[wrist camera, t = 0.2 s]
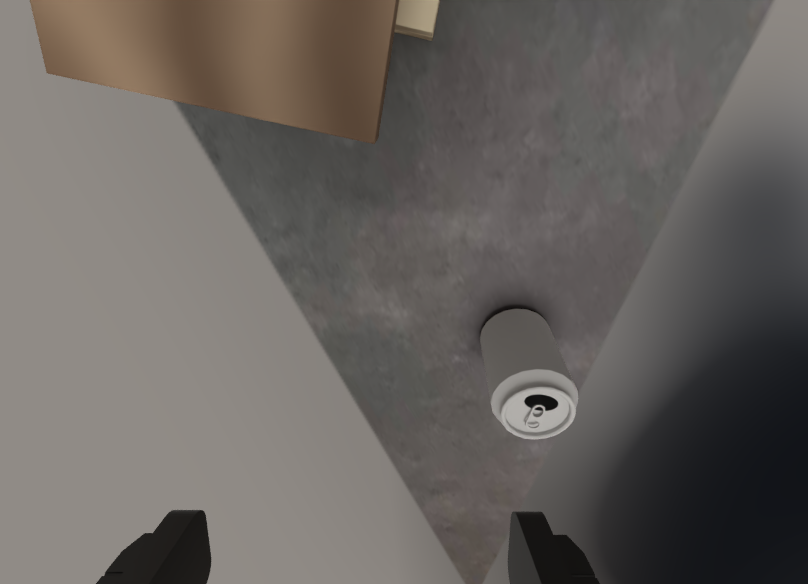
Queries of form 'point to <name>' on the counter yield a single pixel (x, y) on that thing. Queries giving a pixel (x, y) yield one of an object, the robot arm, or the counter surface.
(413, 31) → the oak block
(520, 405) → the can
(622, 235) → the counter surface
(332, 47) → the walnut shelf
